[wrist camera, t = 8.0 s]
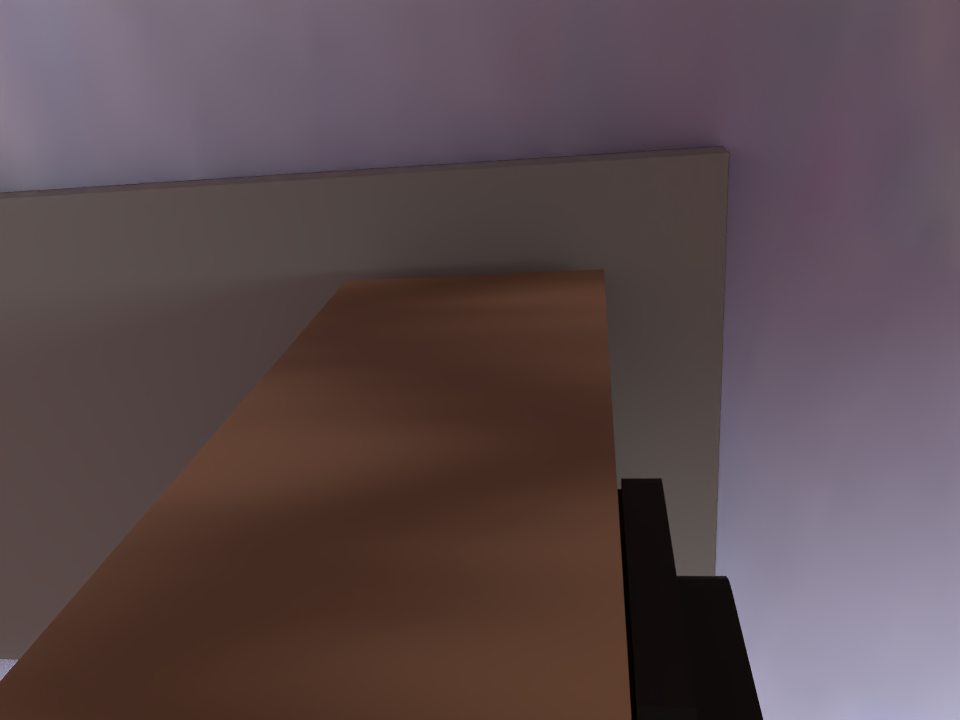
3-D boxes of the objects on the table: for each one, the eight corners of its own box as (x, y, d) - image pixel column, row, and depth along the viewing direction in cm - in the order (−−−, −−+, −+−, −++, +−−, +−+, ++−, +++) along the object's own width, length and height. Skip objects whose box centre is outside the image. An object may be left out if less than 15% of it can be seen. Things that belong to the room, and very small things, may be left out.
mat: (722, 146, 13) (729, 152, 12) (707, 652, 17) (711, 674, 16) (-282, 211, 15) (-314, 218, 15) (-92, 638, 19) (-112, 656, 19)
